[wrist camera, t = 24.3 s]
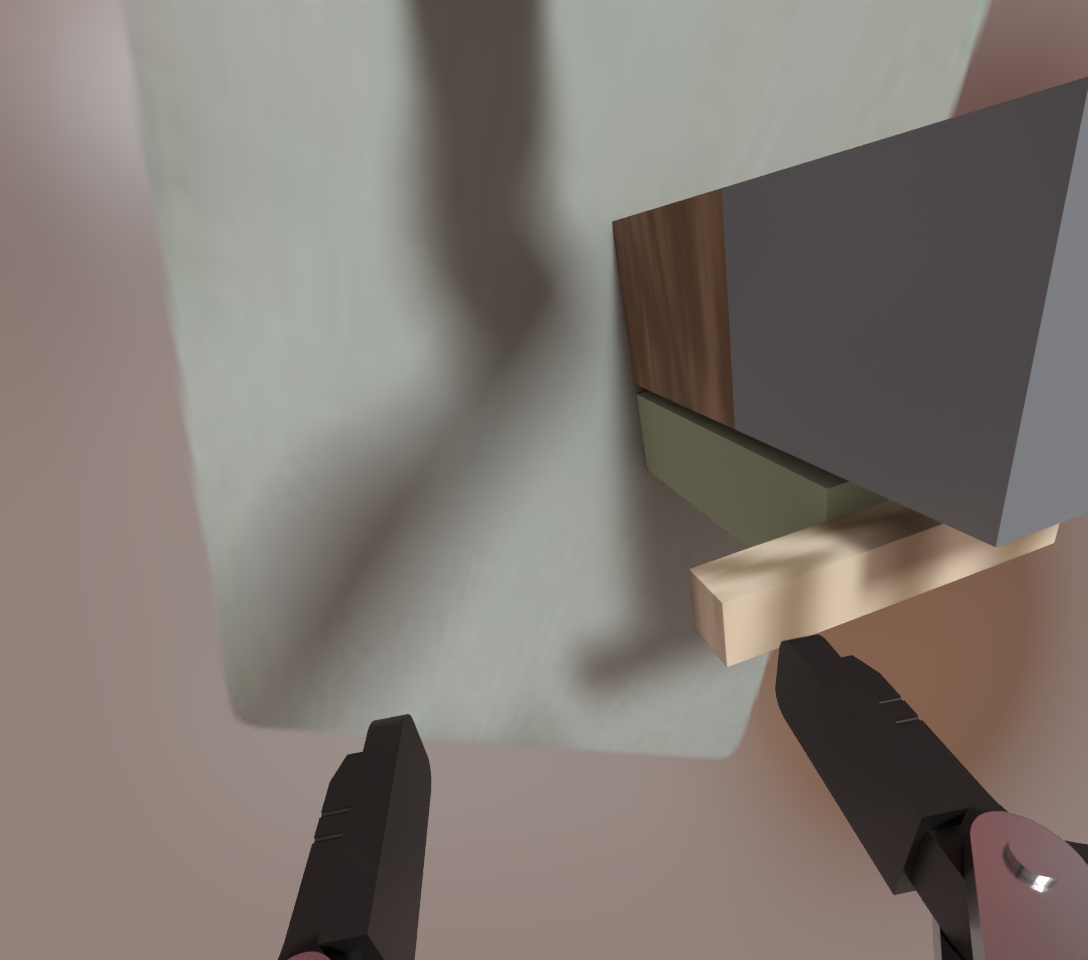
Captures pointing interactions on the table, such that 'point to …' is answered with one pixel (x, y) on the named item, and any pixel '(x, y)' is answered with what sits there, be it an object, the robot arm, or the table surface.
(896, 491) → the block
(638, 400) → the olive box
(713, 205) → the walnut crate
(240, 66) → the table surface
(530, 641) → the table surface
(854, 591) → the birch slat
